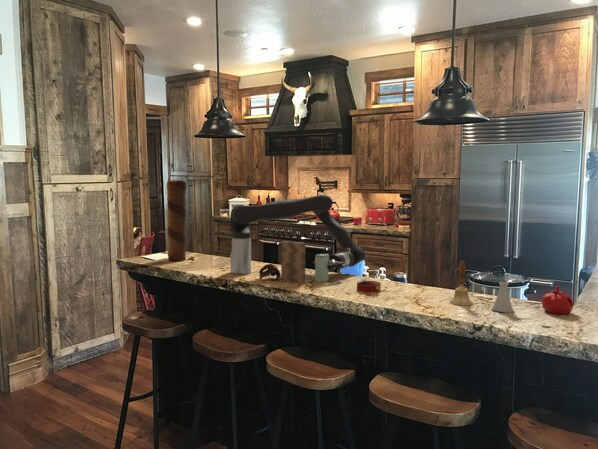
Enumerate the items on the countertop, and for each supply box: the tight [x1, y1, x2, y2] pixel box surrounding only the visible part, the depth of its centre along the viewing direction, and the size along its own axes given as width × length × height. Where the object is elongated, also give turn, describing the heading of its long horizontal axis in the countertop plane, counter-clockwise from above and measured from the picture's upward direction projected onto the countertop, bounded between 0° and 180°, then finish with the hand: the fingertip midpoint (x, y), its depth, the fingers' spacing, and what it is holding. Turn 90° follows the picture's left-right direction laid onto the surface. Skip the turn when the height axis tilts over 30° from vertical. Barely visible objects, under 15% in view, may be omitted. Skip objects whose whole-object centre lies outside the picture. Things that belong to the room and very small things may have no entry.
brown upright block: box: [280, 240, 314, 285], centre depth 217 cm, size 12×9×18 cm
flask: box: [491, 281, 514, 314], centre depth 170 cm, size 7×7×10 cm
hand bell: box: [449, 260, 474, 307], centre depth 180 cm, size 8×8×16 cm
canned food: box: [356, 271, 382, 294], centre depth 201 cm, size 11×10×10 cm
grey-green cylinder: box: [314, 253, 330, 283], centre depth 217 cm, size 4×5×12 cm
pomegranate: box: [541, 285, 574, 315], centre depth 168 cm, size 10×10×9 cm
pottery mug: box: [258, 263, 281, 281], centre depth 221 cm, size 12×10×8 cm
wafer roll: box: [166, 179, 187, 262], centre depth 269 cm, size 10×11×45 cm
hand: (320, 266), depth 216 cm, fingers open, 7 cm apart
